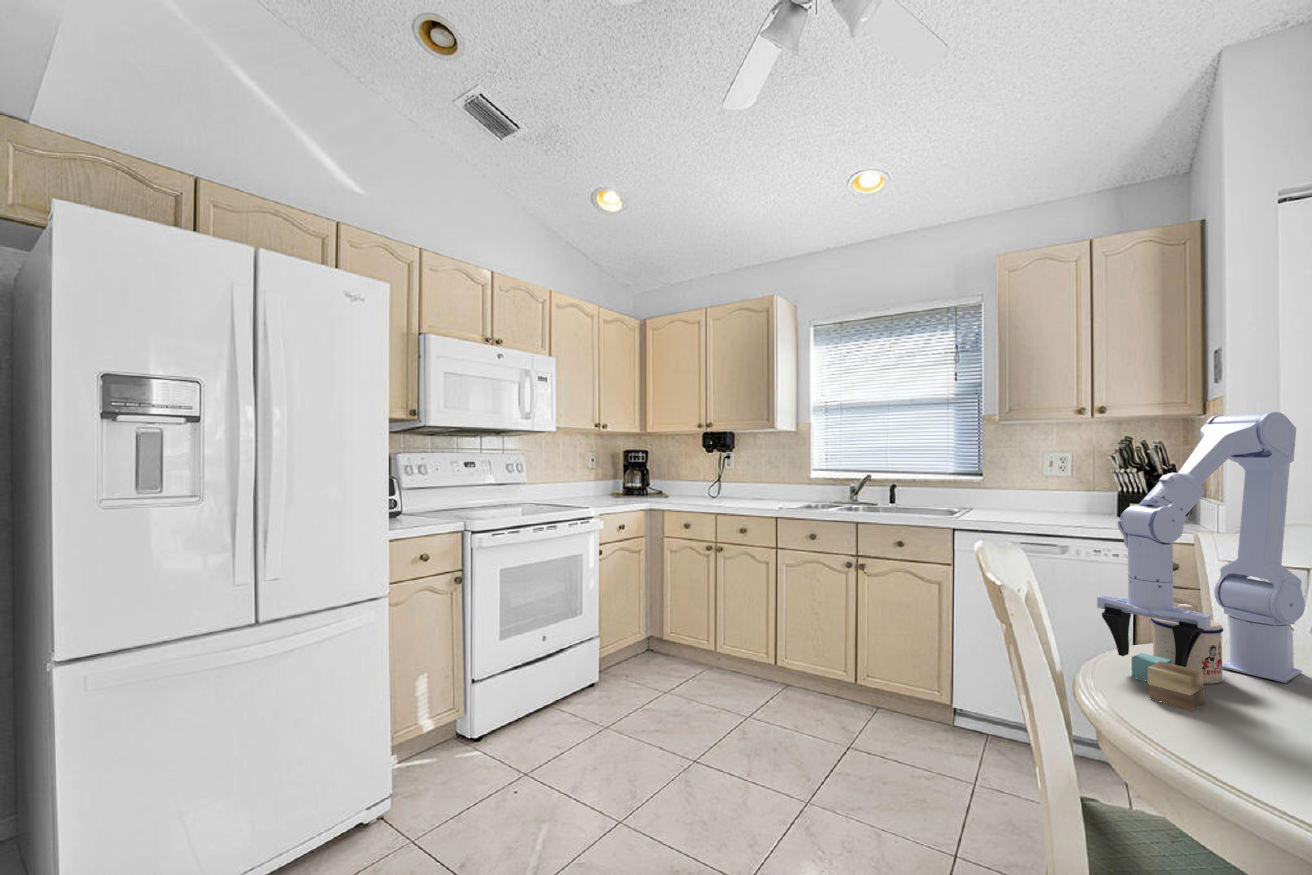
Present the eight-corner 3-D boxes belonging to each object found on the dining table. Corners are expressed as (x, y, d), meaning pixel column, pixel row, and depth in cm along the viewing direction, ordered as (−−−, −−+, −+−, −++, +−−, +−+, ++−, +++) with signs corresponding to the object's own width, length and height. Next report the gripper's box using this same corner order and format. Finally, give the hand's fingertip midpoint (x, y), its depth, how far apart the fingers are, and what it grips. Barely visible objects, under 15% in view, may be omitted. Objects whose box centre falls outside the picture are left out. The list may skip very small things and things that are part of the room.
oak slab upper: (1160, 677, 92) (1160, 661, 92) (1203, 688, 88) (1202, 671, 88) (1147, 683, 89) (1147, 667, 90) (1190, 695, 85) (1190, 678, 85)
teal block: (1142, 673, 100) (1141, 652, 100) (1172, 681, 96) (1171, 659, 97) (1131, 678, 98) (1131, 657, 98) (1162, 686, 94) (1161, 664, 94)
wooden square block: (1162, 693, 92) (1162, 677, 92) (1204, 705, 88) (1204, 688, 88) (1149, 700, 89) (1149, 684, 89) (1192, 713, 85) (1192, 695, 85)
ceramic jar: (1218, 689, 93) (1217, 615, 93) (1145, 672, 100) (1144, 603, 100) (1232, 672, 100) (1231, 603, 100) (1163, 657, 107) (1162, 593, 108)
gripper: (1088, 573, 102) (1089, 652, 101) (1198, 590, 89) (1199, 681, 89) (1107, 569, 105) (1108, 646, 105) (1215, 585, 93) (1216, 672, 93)
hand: (1151, 661), depth 97 cm, fingers open, 7 cm apart
